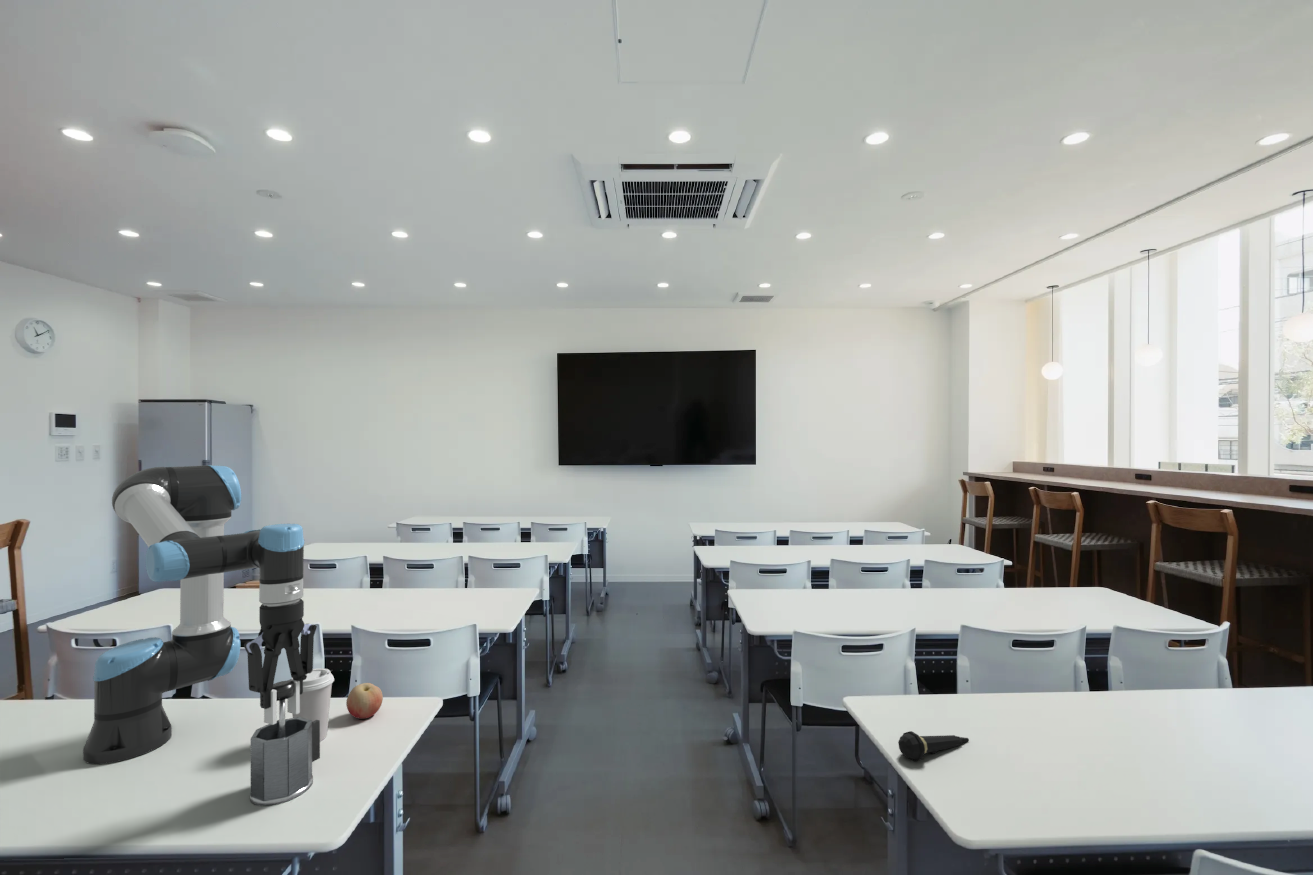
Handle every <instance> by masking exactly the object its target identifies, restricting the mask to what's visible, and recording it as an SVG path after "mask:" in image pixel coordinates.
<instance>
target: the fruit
mask: <svg viewBox="0 0 1313 875" xmlns="http://www.w3.org/2000/svg"><path fill="white" fill-rule="evenodd" d="M383 699H384V696H383V692H382V690H381V688H380V687H379V686H377V685H374V684H373V683H370V682H364V683H363V682H362V683H359V684H357V685H355V686H354V687H353V688H352V689H351V690H350V691H349V694H348V696H347V698H346V703H345V704H346V709H347V712H348V713H349V714H350V715H351V716H352V717H354V718H355V719H361V720H364V719H368V718H370V717H373V716H374V715H375V714H376V713H378V711H379V710H380V708H381V706H382V703H383Z"/></svg>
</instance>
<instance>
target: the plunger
mask: <svg viewBox="0 0 1313 875" xmlns="http://www.w3.org/2000/svg"><path fill="white" fill-rule="evenodd" d="M272 689H274V690H277V702H278V705H279V706H278V712H279V713H278V720H279V739H280V738H285V719H286V700H287V699H288V698H290V697H292V696H293V695H294V682H293V681H287V680H283V681H282V680H281V681H278V682H276V683H273V688H272Z"/></svg>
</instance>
